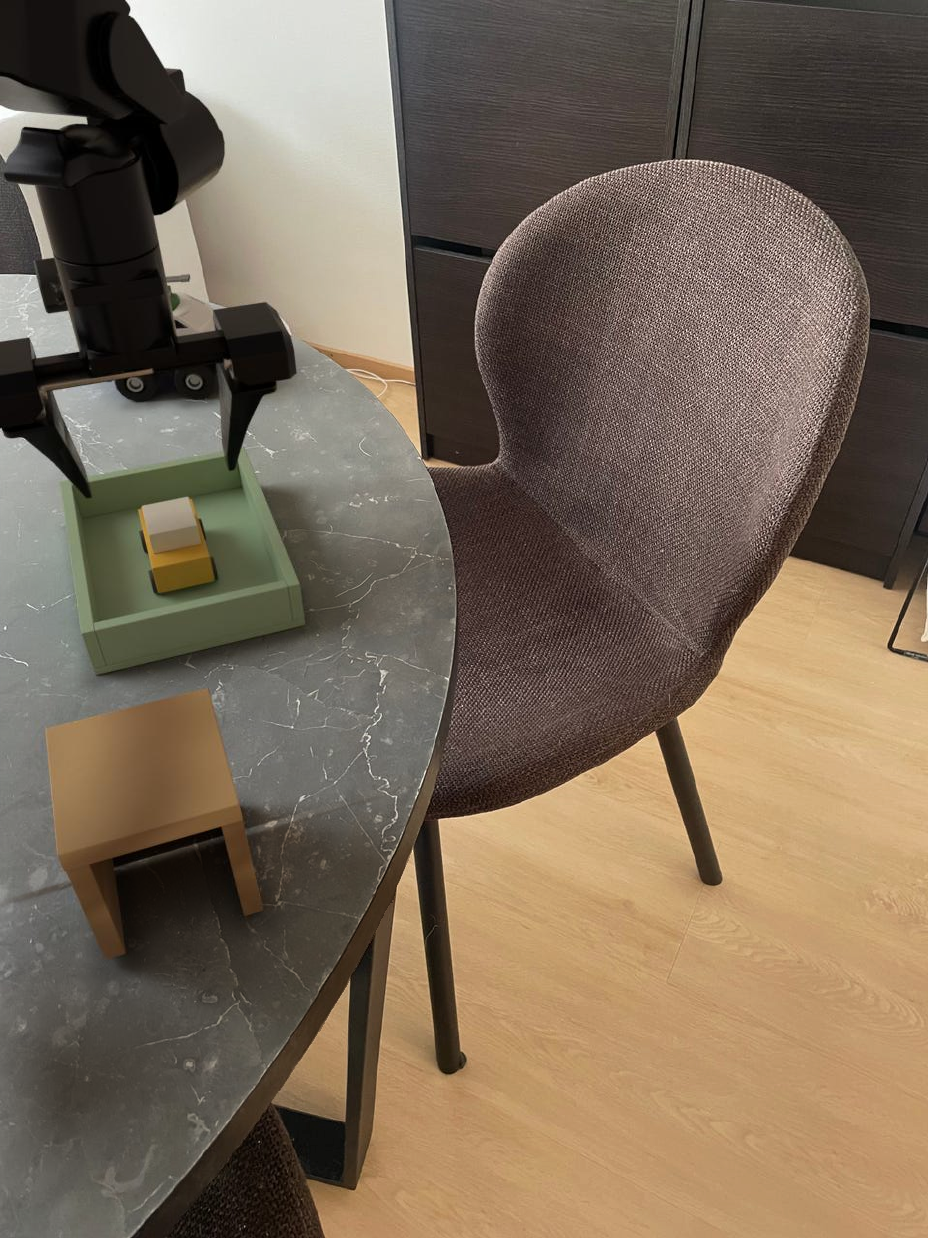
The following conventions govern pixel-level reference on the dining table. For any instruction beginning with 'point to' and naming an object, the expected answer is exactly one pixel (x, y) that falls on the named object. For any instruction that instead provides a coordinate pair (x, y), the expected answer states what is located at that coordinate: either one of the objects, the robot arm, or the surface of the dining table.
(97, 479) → the green box
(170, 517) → the small car
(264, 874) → the dining table surface
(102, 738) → the oak stand
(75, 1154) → the dining table surface
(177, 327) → the toy car
